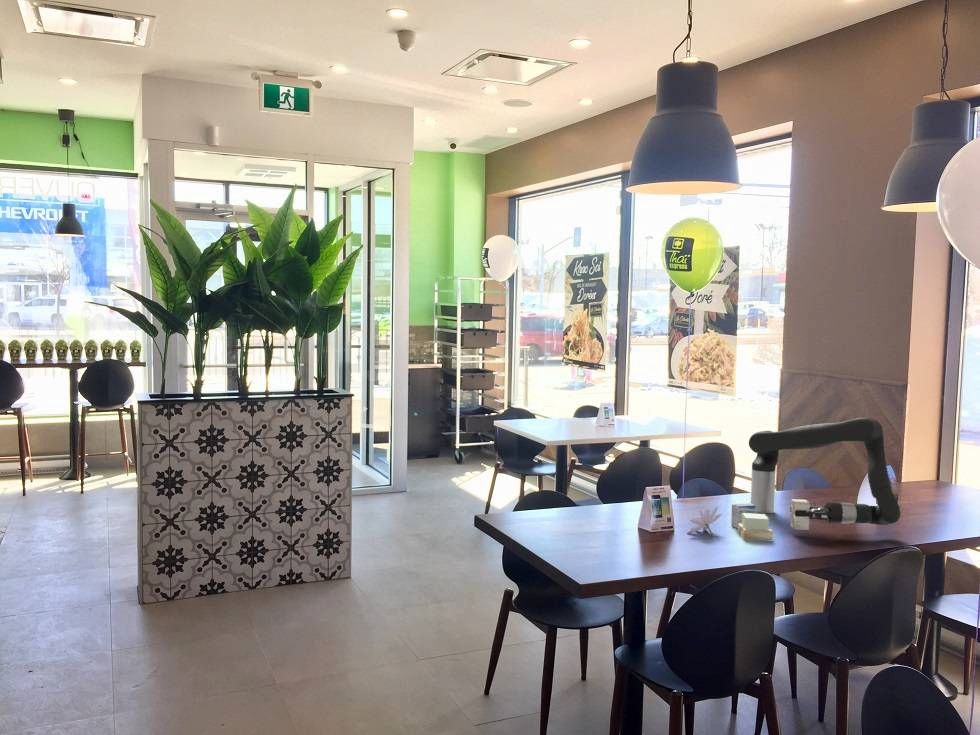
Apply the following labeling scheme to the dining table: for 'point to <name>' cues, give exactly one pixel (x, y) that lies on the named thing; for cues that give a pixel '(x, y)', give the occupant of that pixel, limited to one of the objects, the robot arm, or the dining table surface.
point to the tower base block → (754, 533)
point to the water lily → (707, 519)
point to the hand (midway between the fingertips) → (793, 511)
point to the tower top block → (755, 521)
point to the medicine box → (739, 509)
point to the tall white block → (796, 521)
